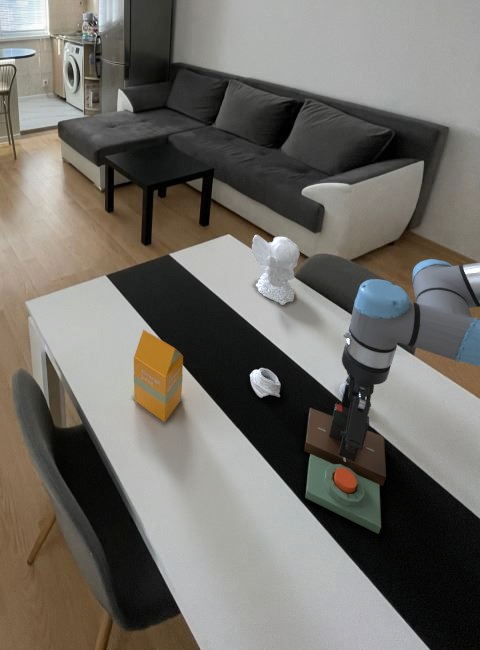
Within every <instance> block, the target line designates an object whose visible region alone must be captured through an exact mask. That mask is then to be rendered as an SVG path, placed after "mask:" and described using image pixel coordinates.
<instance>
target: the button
mask: <svg viewBox="0 0 480 650" xmlns="http://www.w3.org/2000/svg"><path fill="white" fill-rule="evenodd" d="M334 482H335V484H336V486H337V487H338V488H339V489H340V490H341V491H343V492H345V493H349V494H350V493H353V492H354V491H355V489H356V485H357V480H356V477H355V476H354V474H353V473H352V472H350V471H349V470H347V469H345V468H338V469H337V470H336V471H335V475H334Z"/></svg>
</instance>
